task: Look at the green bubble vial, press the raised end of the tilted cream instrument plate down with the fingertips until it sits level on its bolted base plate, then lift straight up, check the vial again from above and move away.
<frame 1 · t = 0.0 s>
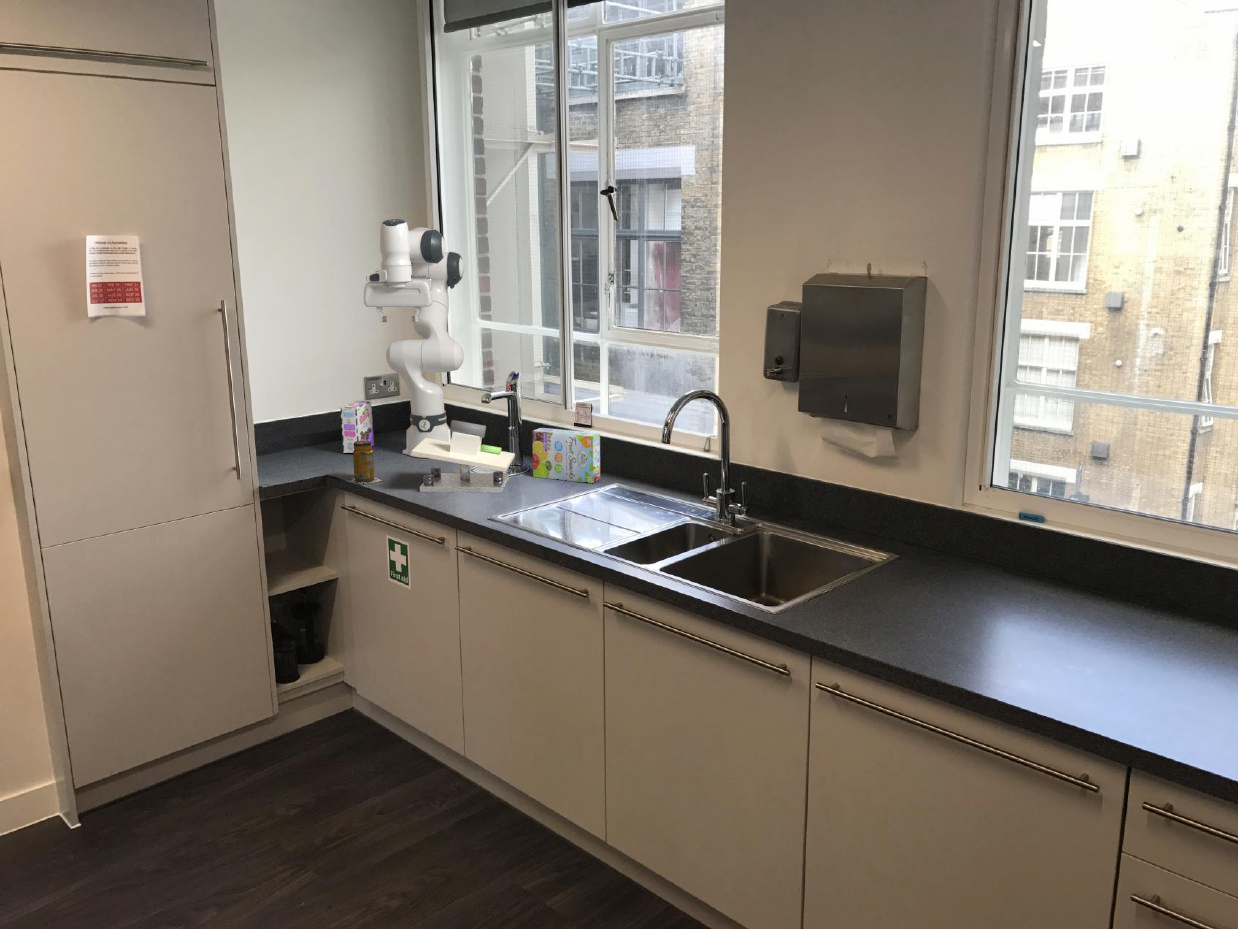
hand: (399, 322, 304), 48 cm above the worktop, tool pointing down, fingers open, 8 cm apart
instrument plate: (466, 439, 301), point 14 cm above the worktop, hinge at 10.0°
snack box: (566, 479, 312), on the worktop
condiment: (365, 481, 311), on the worktop
candy box: (359, 450, 351), on the worktop
bolted base plate: (465, 485, 305), on the worktop
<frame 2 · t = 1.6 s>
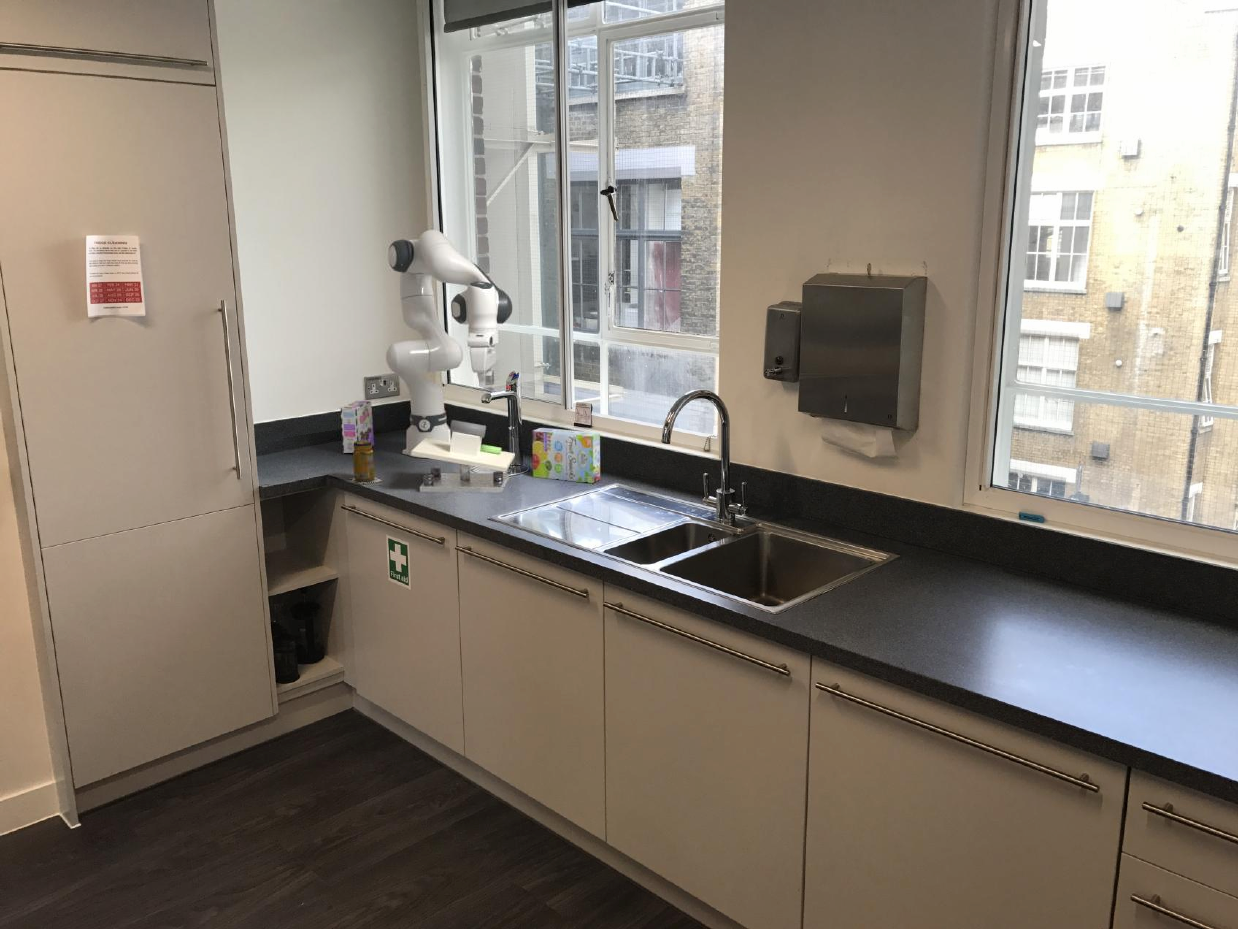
hand: (485, 383, 302), 30 cm above the worktop, tool pointing down, fingers open, 8 cm apart
nothing on the worktop moved.
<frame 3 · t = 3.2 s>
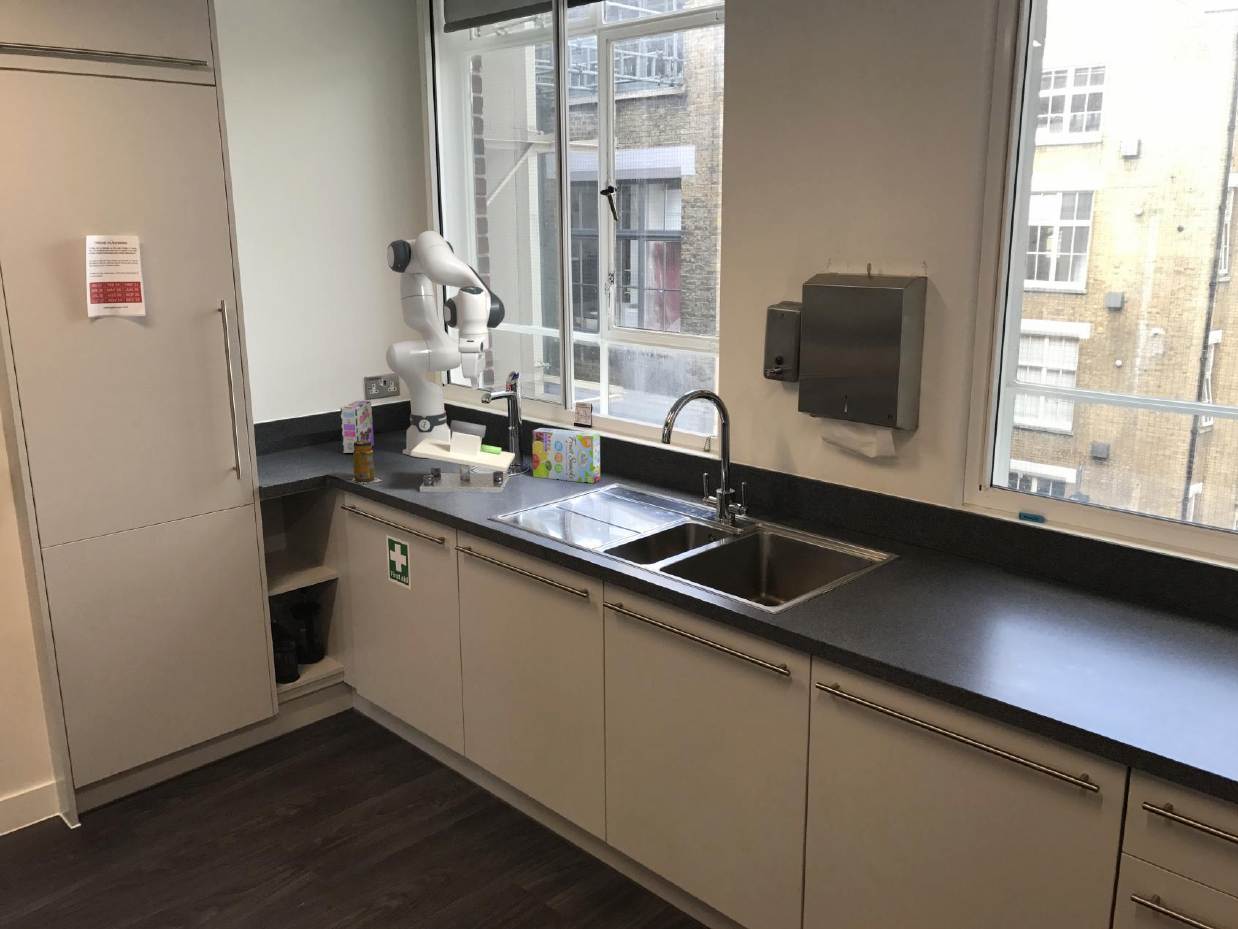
hand: (475, 388, 302), 29 cm above the worktop, tool pointing down, fingers closed
nothing on the worktop moved.
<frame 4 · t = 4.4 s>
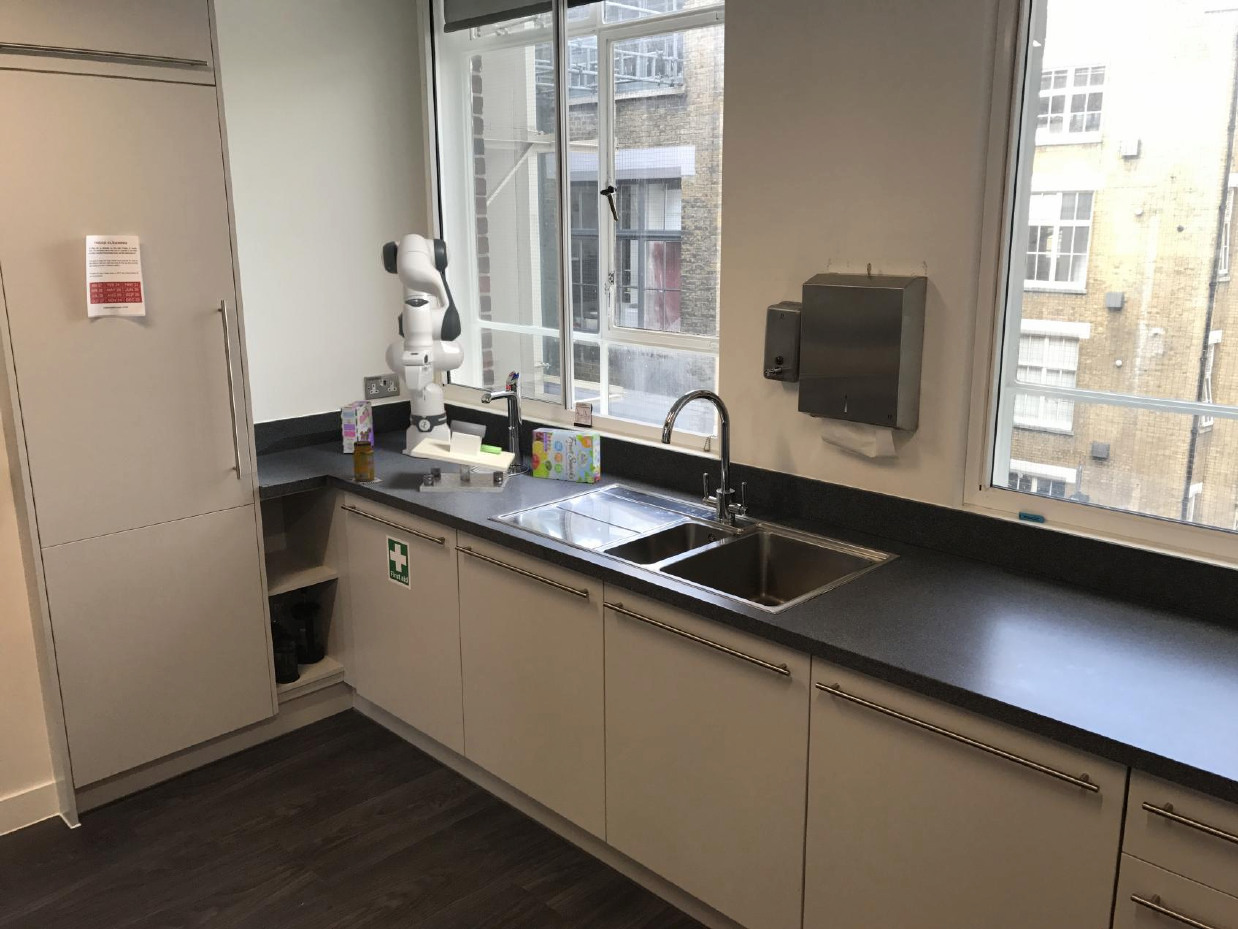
hand: (421, 401, 299), 26 cm above the worktop, tool pointing down, fingers closed
nothing on the worktop moved.
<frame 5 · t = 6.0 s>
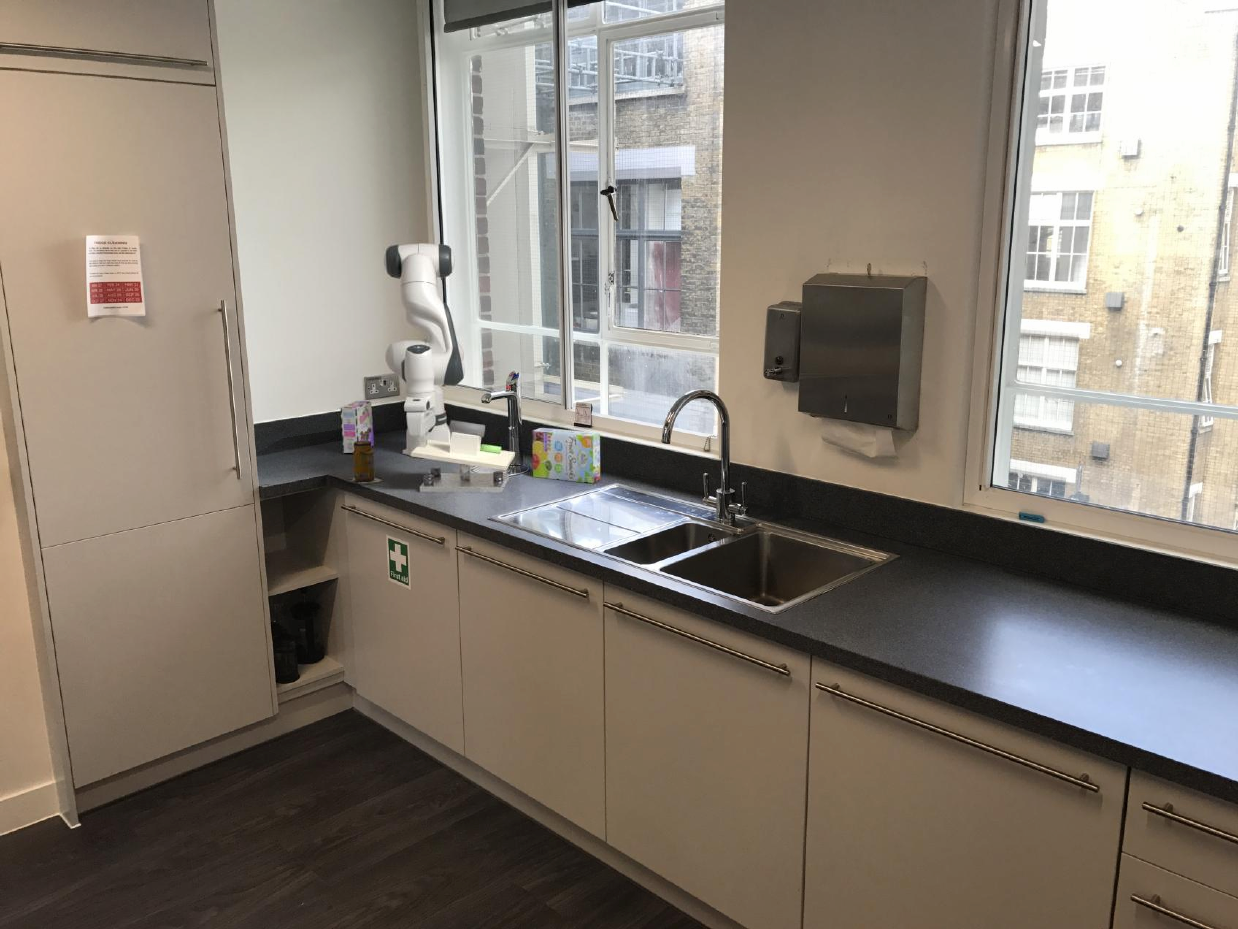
hand: (423, 446, 302), 12 cm above the worktop, tool pointing down, fingers closed, pressing on instrument plate
instrument plate: (466, 439, 301), point 14 cm above the worktop, hinge at 8.3°, touching gripper
everything else where it was.
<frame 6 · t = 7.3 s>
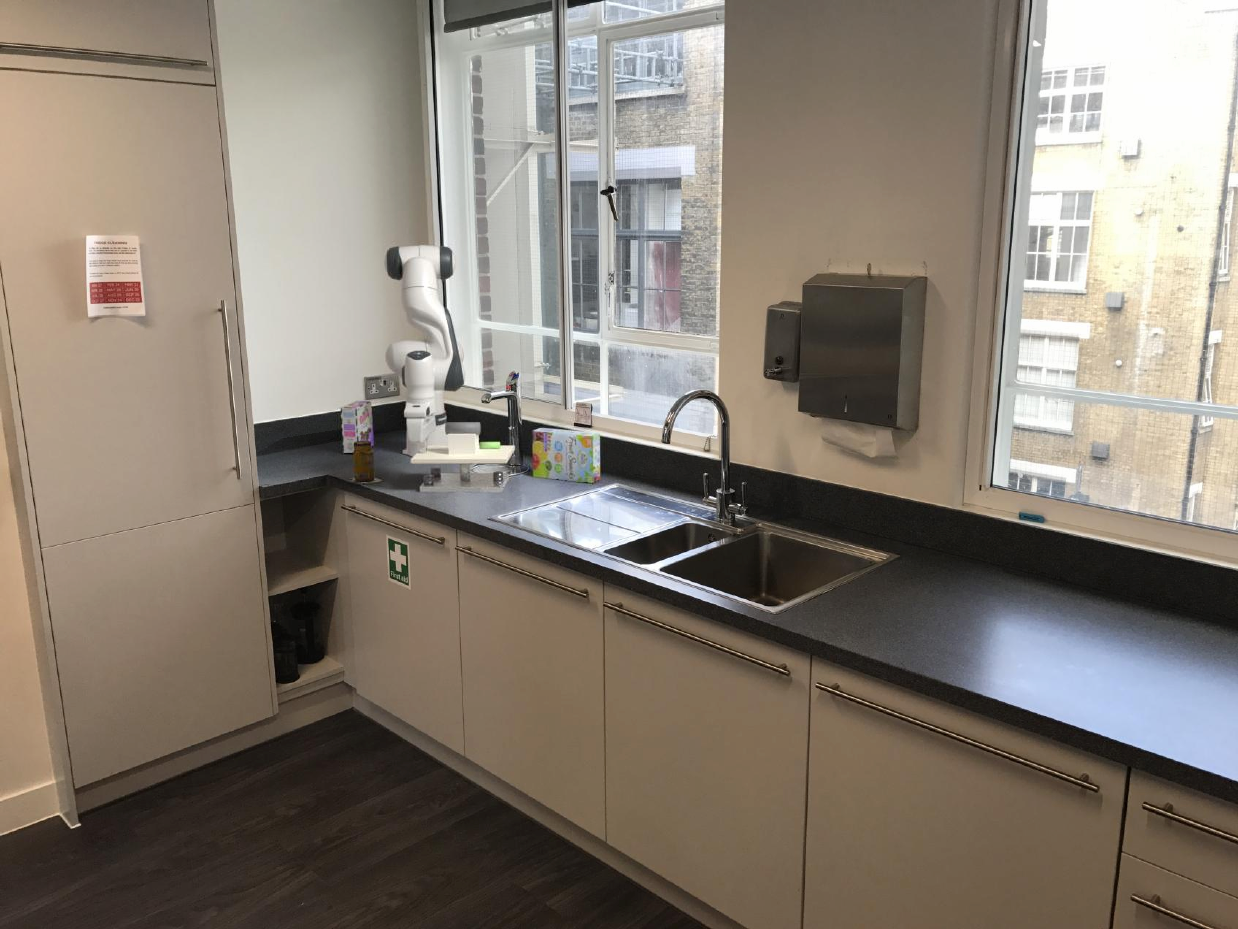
hand: (423, 451, 303), 10 cm above the worktop, tool pointing down, fingers closed
instrument plate: (463, 439, 301), point 14 cm above the worktop, hinge at -0.4°
everything else where it was.
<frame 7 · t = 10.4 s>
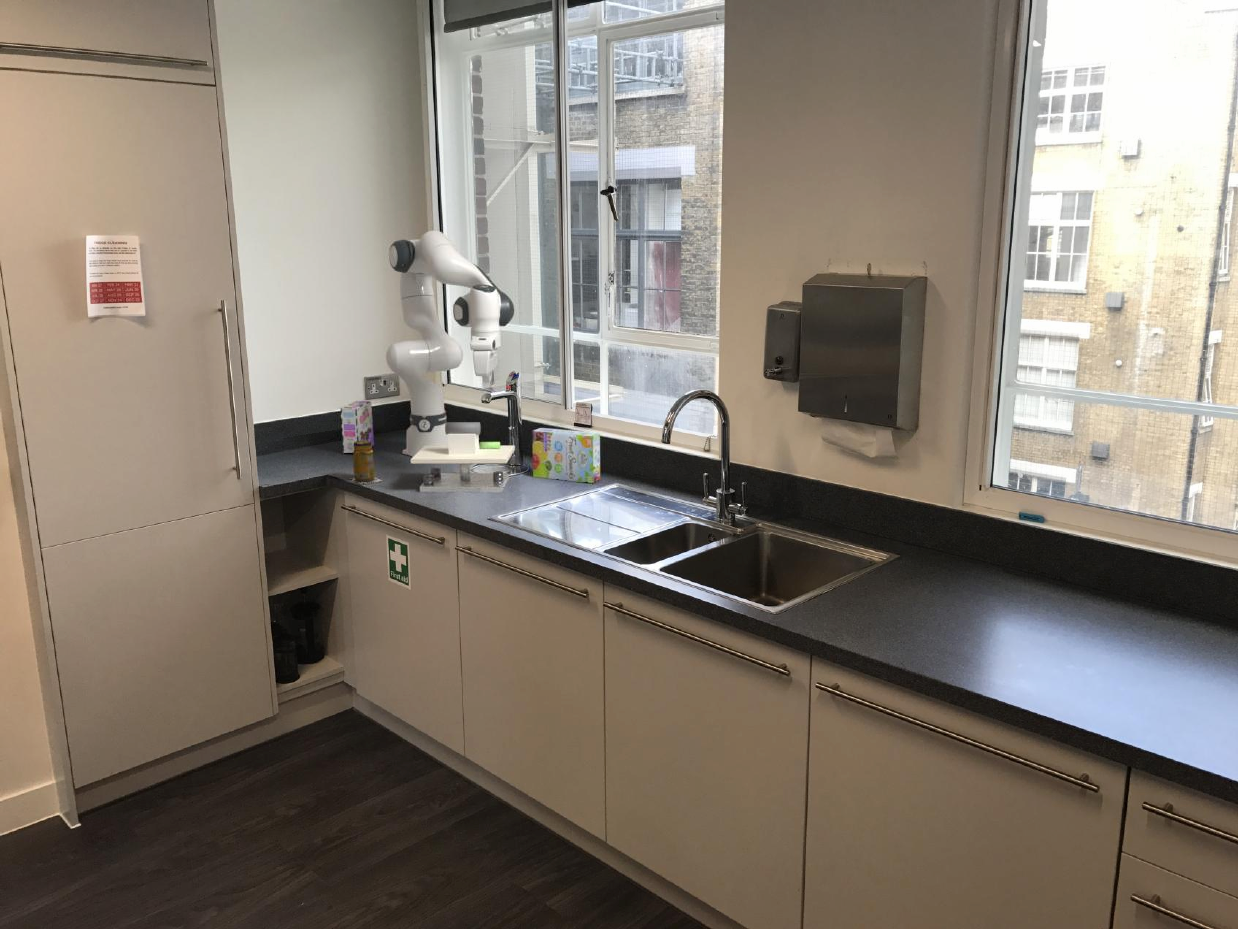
hand: (487, 386, 302), 29 cm above the worktop, tool pointing down, fingers closed
nothing on the worktop moved.
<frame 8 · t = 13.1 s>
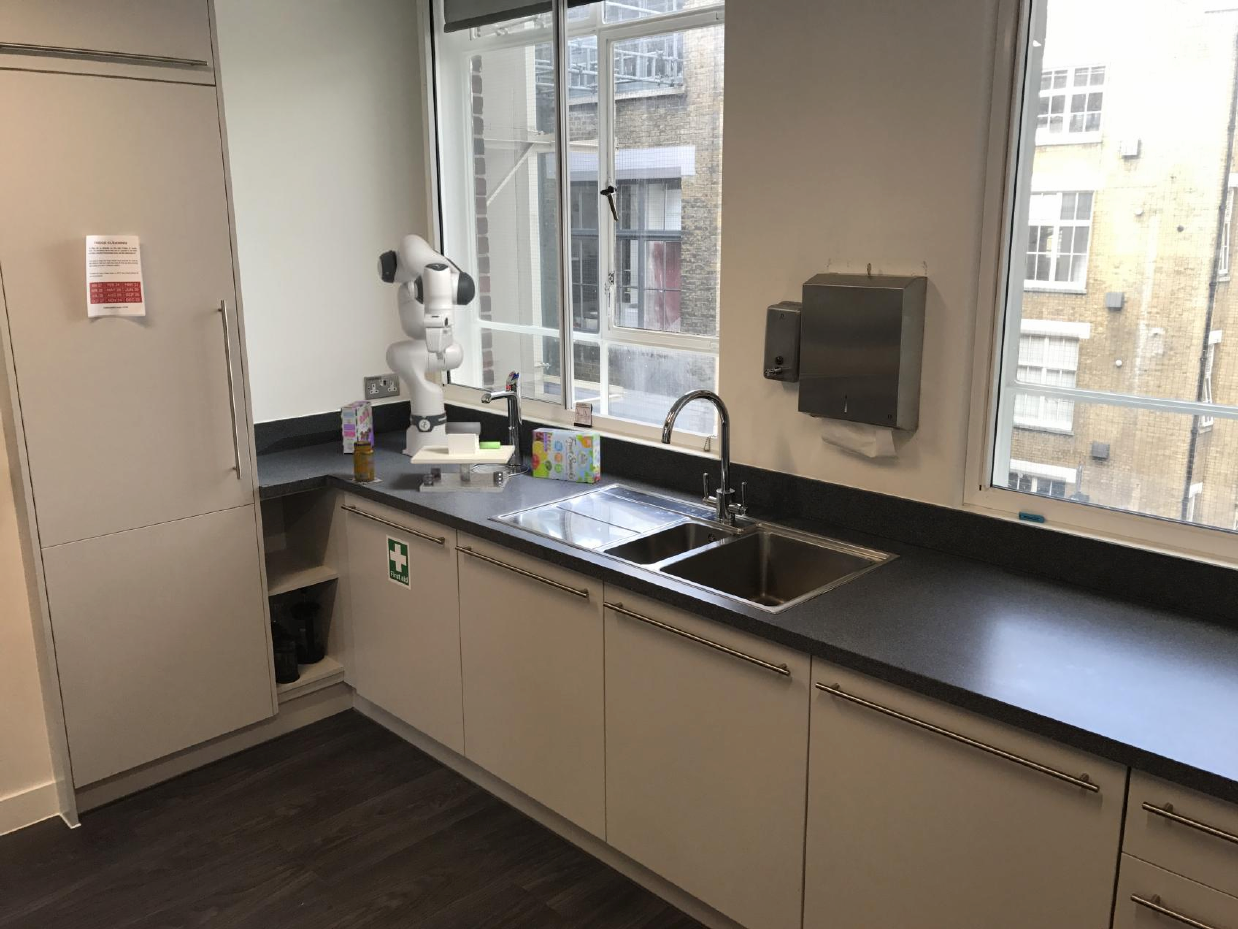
hand: (441, 364, 307), 35 cm above the worktop, tool pointing down, fingers closed
nothing on the worktop moved.
at the end: instrument plate at +0° (first picture: +10°); condiment moved 0.3 cm from its start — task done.
